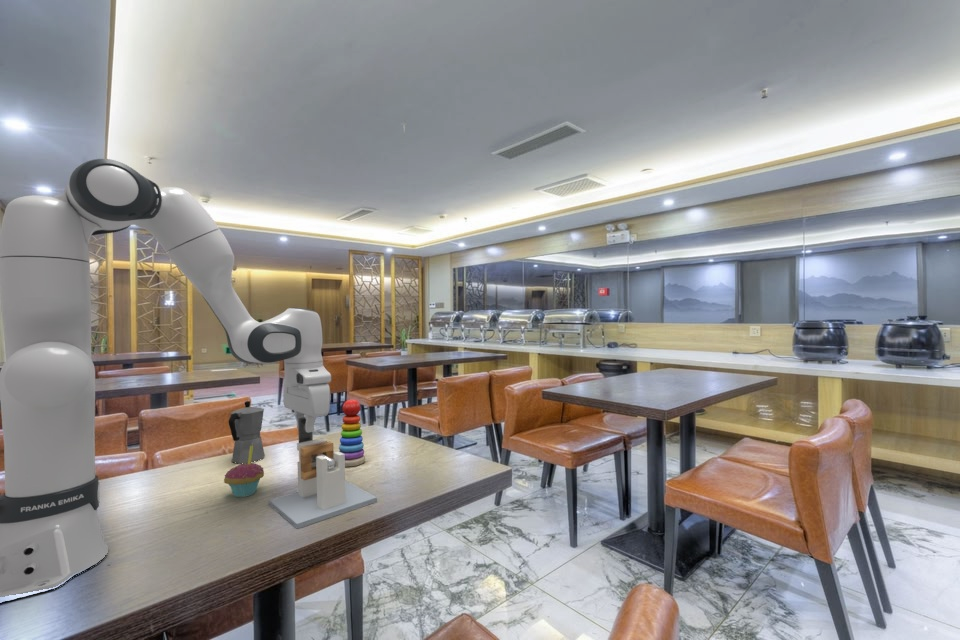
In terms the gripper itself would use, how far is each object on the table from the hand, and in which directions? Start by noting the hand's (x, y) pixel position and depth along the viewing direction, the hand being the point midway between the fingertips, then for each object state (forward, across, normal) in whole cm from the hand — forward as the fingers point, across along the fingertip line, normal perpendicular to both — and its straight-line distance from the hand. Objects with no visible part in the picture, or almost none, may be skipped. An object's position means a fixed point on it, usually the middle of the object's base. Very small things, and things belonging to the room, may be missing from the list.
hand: (305, 430), depth 105 cm
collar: (+9, +7, 0) cm, 12 cm away
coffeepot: (+15, -40, -3) cm, 43 cm away
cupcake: (+15, -10, -11) cm, 22 cm away
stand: (+15, +10, 0) cm, 18 cm away
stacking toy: (+15, -12, +18) cm, 27 cm away
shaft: (+6, +7, 0) cm, 9 cm away
